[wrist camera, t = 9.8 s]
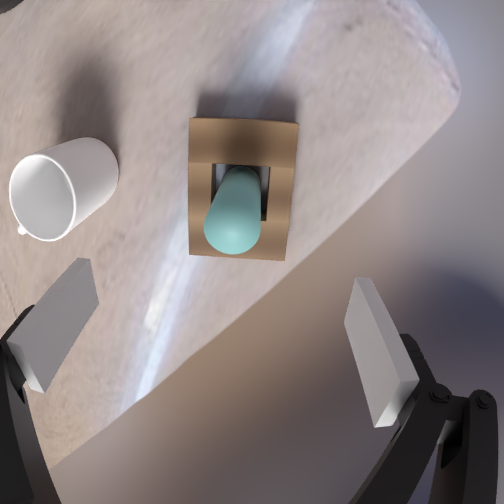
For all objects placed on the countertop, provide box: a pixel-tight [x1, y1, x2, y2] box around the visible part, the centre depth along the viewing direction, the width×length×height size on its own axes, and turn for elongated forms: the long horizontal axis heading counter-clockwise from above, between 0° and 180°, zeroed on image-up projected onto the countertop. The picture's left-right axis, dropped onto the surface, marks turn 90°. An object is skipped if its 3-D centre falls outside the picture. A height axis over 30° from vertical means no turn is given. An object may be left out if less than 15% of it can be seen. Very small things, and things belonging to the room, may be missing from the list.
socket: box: [188, 117, 299, 261], centre depth 32 cm, size 14×10×3 cm
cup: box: [9, 137, 119, 241], centre depth 29 cm, size 8×12×10 cm
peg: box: [204, 166, 261, 254], centre depth 28 cm, size 4×4×12 cm
